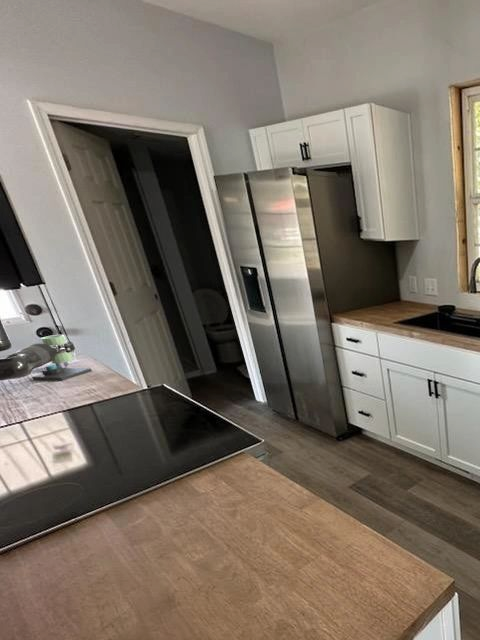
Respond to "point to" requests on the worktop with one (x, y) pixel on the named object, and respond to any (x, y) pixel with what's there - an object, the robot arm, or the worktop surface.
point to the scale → (61, 373)
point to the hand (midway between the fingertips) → (59, 345)
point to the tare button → (51, 367)
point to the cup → (57, 340)
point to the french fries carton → (62, 364)
